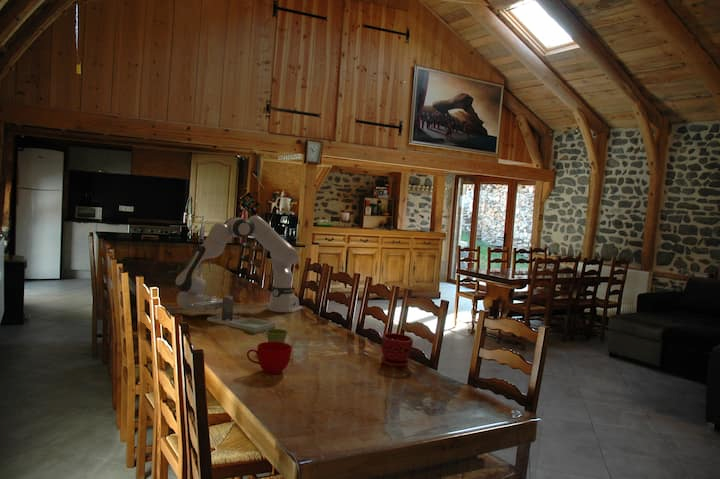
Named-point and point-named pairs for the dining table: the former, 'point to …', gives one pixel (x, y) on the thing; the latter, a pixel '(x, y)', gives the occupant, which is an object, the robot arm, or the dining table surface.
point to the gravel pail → (227, 308)
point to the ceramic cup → (272, 356)
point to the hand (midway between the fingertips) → (222, 307)
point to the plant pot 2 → (396, 349)
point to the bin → (253, 325)
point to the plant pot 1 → (276, 335)
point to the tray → (219, 320)
